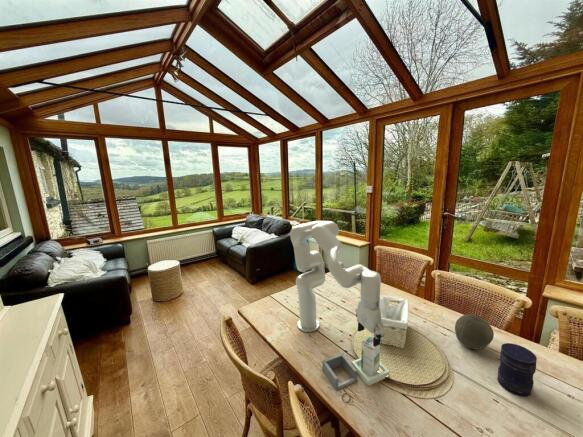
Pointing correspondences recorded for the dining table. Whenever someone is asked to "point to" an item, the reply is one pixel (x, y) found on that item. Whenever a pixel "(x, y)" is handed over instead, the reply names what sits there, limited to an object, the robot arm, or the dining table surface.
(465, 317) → the grey oval rock
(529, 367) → the storage jar
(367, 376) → the tray
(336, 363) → the bay
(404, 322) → the storage basket
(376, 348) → the syrup box
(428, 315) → the dining table surface
